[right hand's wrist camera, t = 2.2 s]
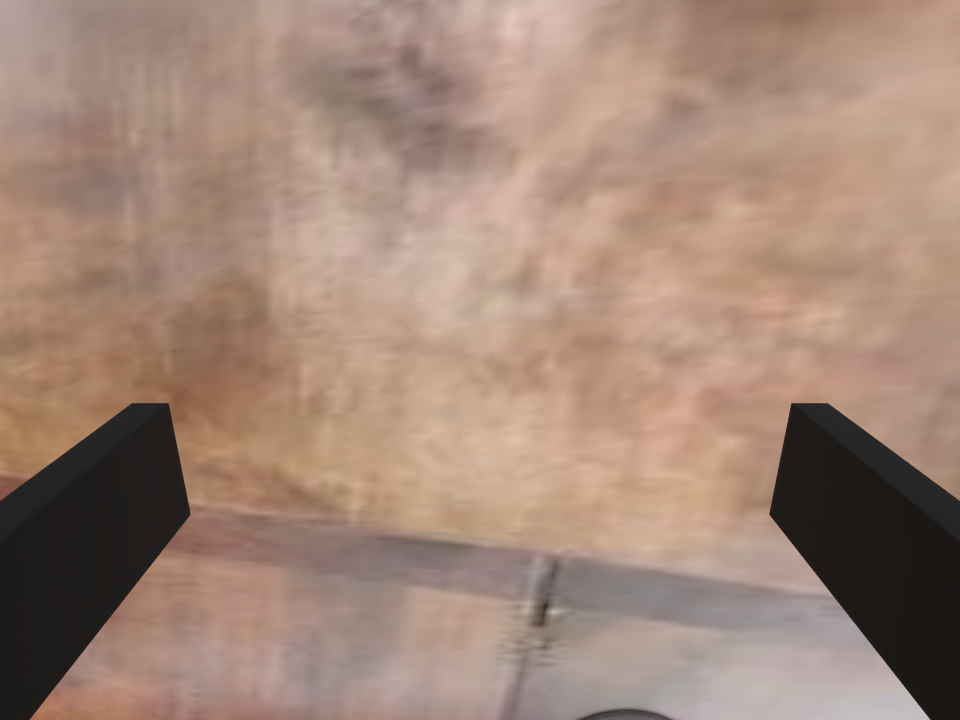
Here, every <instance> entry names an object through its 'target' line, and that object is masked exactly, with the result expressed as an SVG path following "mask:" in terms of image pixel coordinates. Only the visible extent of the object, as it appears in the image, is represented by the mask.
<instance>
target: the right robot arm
mask: <svg viewBox="0 0 960 720" xmlns="http://www.w3.org/2000/svg"><path fill="white" fill-rule="evenodd" d="M190 515H191V514H190V509H189V504H188V499H187V494H186V489H185V484H184V479H183V474H182V469H181V464H180V459H179V453H178V448H177V443H176V438H175V433H174V428H173V423H172V418H171V413H170V408H169V403H132V404H131V405H129V406H128V407H127V408H125V409H124V410H122V411H121V412H120V413H118V414H117V415H116V416H114V417H113V418H112V419H110V420H109V421H108V422H106V423H105V424H104V425H102V426H101V427H100V428H98V429H97V430H95V431H94V432H93V433H91V434H90V435H89V436H87V437H86V438H85V439H83V440H82V441H81V442H79V443H78V444H77V445H75V446H74V447H73V448H71V449H70V450H68V451H67V452H66V453H64V454H63V455H62V456H60V457H59V458H58V459H56V460H55V461H54V462H52V463H51V464H50V465H48V466H47V467H45V468H44V469H43V470H41V471H40V472H39V473H37V474H36V475H35V476H33V477H32V478H31V479H29V480H28V481H27V482H25V483H24V484H23V485H21V486H20V487H18V488H17V489H16V490H14V491H13V492H12V493H10V494H9V495H8V496H6V497H5V498H4V499H2V500H1V501H0V720H30V718H31V717H32V716H33V715H34V713H35V712H36V711H37V710H38V708H39V707H40V706H41V704H42V703H43V702H44V701H45V699H46V698H47V697H48V696H49V694H50V693H51V692H52V690H53V689H54V688H55V687H56V685H57V684H58V683H59V682H60V680H61V679H62V678H63V676H64V675H65V674H66V673H67V671H68V670H69V669H70V668H71V666H72V665H73V664H74V662H75V661H76V660H77V659H78V657H79V656H80V655H81V653H82V652H83V651H84V650H85V648H86V647H87V646H88V645H89V643H90V642H91V641H92V639H93V638H94V637H95V636H96V634H97V633H98V632H99V631H100V629H101V628H102V627H103V625H104V624H105V623H106V622H107V620H108V619H109V618H110V617H111V615H112V614H113V613H114V611H115V610H116V609H117V608H118V606H119V605H120V604H121V603H122V601H123V600H124V599H125V597H126V596H127V595H128V594H129V592H130V591H131V590H132V589H133V587H134V586H135V585H136V583H137V582H138V581H139V580H140V578H141V577H142V576H143V575H144V573H145V572H146V571H147V569H148V568H149V567H150V566H151V564H152V563H153V562H154V561H155V559H156V558H157V557H158V555H159V554H160V553H161V552H162V550H163V549H164V548H165V546H166V545H167V544H168V543H169V541H170V540H171V539H172V538H173V536H174V535H175V534H176V532H177V531H178V530H179V529H180V527H181V526H182V525H183V524H184V522H185V521H186V520H187V518H188V517H189V516H190ZM769 515H770V516H771V517H772V518H773V520H774V521H775V522H776V524H777V525H778V526H779V527H780V529H781V530H782V531H783V532H784V534H785V535H786V536H787V538H788V539H789V540H790V541H791V543H792V544H793V545H794V546H795V548H796V549H797V550H798V552H799V553H800V554H801V555H802V557H803V558H804V559H805V561H806V562H807V563H808V564H809V566H810V567H811V568H812V569H813V571H814V572H815V573H816V575H817V576H818V577H819V578H820V580H821V581H822V582H823V583H824V585H825V586H826V587H827V589H828V590H829V591H830V592H831V594H832V595H833V596H834V597H835V599H836V600H837V601H838V603H839V604H840V605H841V606H842V608H843V609H844V610H845V611H846V613H847V614H848V615H849V617H850V618H851V619H852V620H853V622H854V623H855V624H856V625H857V627H858V628H859V629H860V631H861V632H862V633H863V634H864V636H865V637H866V638H867V639H868V641H869V642H870V643H871V645H872V646H873V647H874V648H875V650H876V651H877V652H878V654H879V655H880V656H881V657H882V659H883V660H884V661H885V662H886V664H887V665H888V666H889V668H890V669H891V670H892V671H893V673H894V674H895V675H896V676H897V678H898V679H899V680H900V682H901V683H902V684H903V685H904V687H905V688H906V689H907V690H908V692H909V693H910V694H911V696H912V697H913V698H914V699H915V701H916V702H917V703H918V704H919V706H920V707H921V708H922V710H923V711H924V712H925V713H926V715H927V716H928V717H929V718H930V720H960V501H959V500H958V499H956V498H955V497H954V496H952V495H951V494H950V493H948V492H947V491H946V490H944V489H943V488H942V487H940V486H939V485H937V484H936V483H935V482H933V481H932V480H931V479H929V478H928V477H927V476H925V475H924V474H923V473H921V472H920V471H919V470H917V469H916V468H915V467H913V466H912V465H910V464H909V463H908V462H906V461H905V460H904V459H902V458H901V457H900V456H898V455H897V454H896V453H894V452H893V451H892V450H890V449H889V448H887V447H886V446H885V445H883V444H882V443H881V442H879V441H878V440H877V439H875V438H874V437H873V436H871V435H870V434H869V433H867V432H866V431H865V430H863V429H862V428H860V427H859V426H858V425H856V424H855V423H854V422H852V421H851V420H850V419H848V418H847V417H846V416H844V415H843V414H842V413H840V412H839V411H838V410H836V409H835V408H833V407H832V406H831V405H829V404H828V403H791V408H790V413H789V418H788V423H787V428H786V433H785V438H784V443H783V448H782V453H781V459H780V464H779V469H778V474H777V479H776V484H775V489H774V494H773V499H772V504H771V509H770V514H769ZM584 720H669V719H667V718H665V717H662V716H659V715H655V714H652V713H646V712H639V711H617V712H609V713H603V714H599V715H595V716H592V717H589V718H586V719H584Z"/></svg>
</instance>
